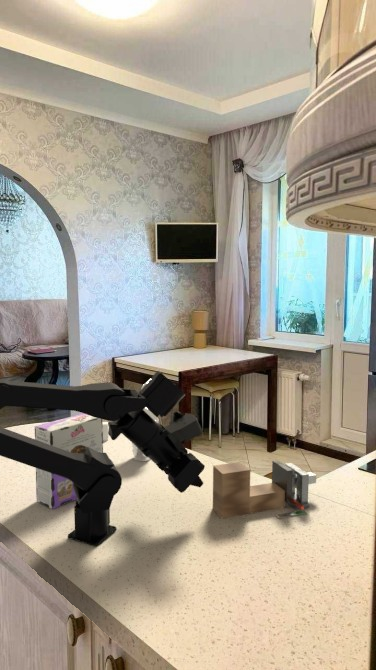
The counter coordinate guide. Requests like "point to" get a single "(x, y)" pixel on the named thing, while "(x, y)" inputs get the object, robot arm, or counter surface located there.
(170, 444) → the robot arm
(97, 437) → the candy box
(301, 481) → the gauge housing
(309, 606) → the counter surface
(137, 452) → the cup with straw
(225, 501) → the walnut block
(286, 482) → the grey bracket
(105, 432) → the napkin holder
